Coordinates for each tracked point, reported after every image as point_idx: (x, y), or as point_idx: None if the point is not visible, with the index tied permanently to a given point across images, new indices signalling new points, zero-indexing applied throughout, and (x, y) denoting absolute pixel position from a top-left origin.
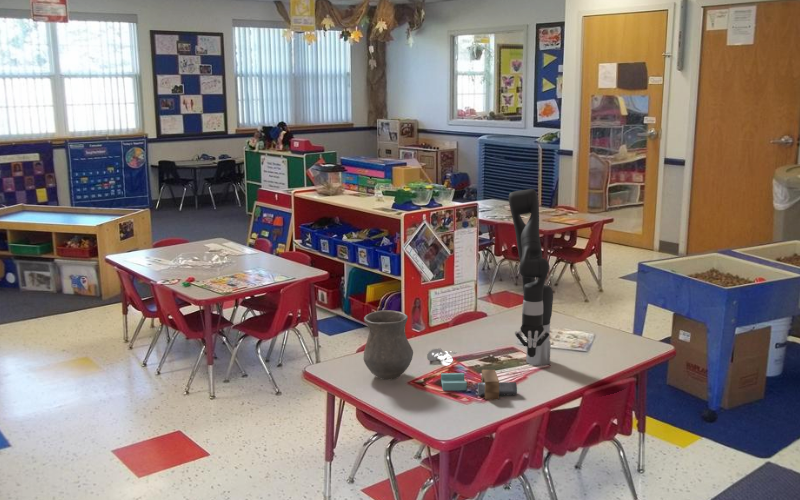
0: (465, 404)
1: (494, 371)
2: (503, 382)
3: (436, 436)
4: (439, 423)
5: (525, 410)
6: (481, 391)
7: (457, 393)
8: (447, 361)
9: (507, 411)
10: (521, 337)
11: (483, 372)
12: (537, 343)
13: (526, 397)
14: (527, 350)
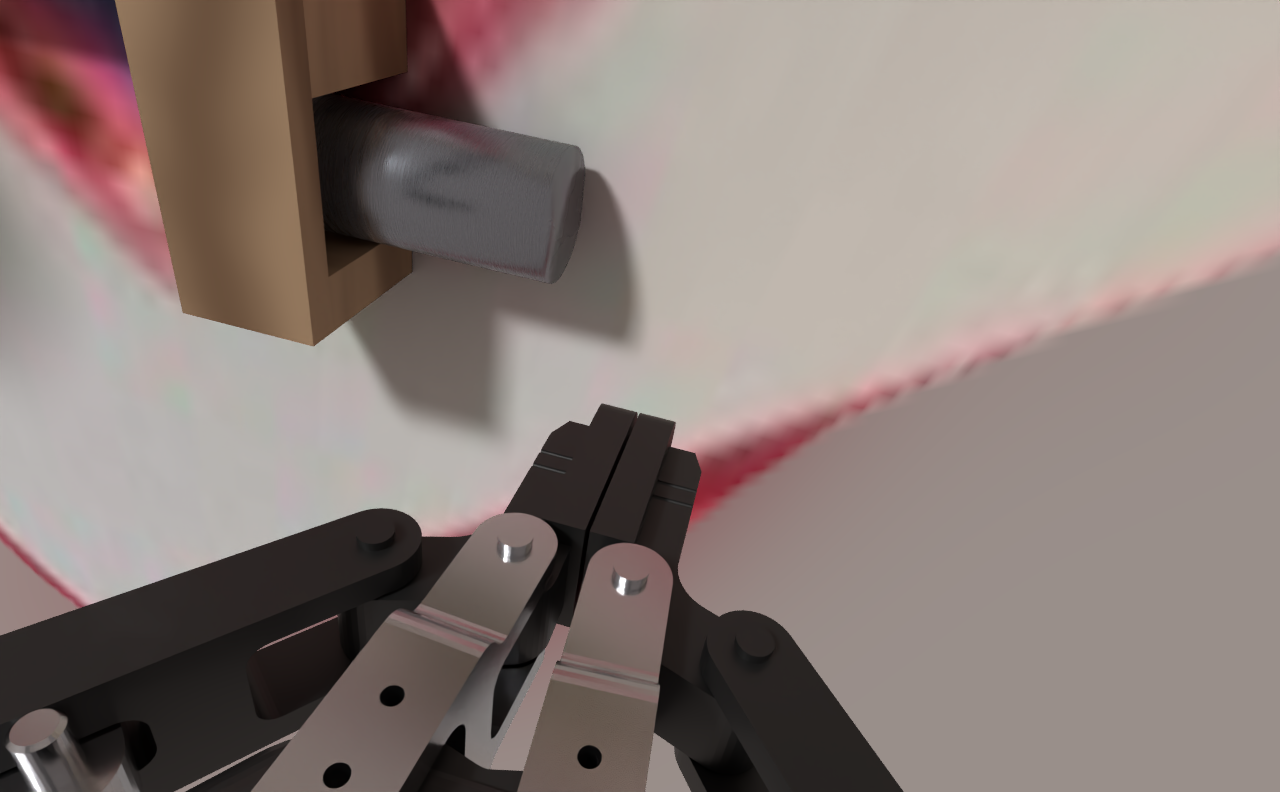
0: (164, 291)
1: (264, 22)
2: (408, 199)
3: (83, 590)
4: (63, 486)
5: None
6: None
7: (67, 48)
8: None
9: (446, 474)
10: (162, 789)
11: (130, 28)
12: (678, 733)
13: (657, 295)
14: (529, 479)
